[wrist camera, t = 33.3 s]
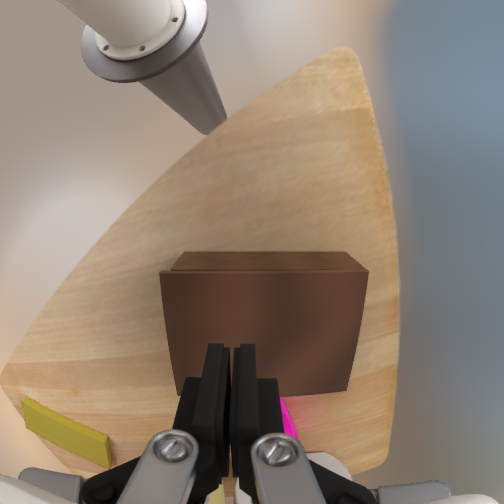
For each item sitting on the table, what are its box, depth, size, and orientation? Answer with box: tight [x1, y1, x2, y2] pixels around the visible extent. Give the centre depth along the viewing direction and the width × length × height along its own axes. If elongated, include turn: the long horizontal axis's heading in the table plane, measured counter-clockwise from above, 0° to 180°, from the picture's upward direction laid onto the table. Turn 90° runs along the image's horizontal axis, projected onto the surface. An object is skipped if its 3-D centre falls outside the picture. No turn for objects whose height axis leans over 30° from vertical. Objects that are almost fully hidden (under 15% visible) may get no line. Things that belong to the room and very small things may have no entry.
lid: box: [159, 269, 369, 397], centre depth 29 cm, size 20×16×1 cm
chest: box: [171, 252, 365, 271], centre depth 33 cm, size 20×16×7 cm
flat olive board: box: [21, 396, 112, 469], centre depth 43 cm, size 12×2×24 cm
